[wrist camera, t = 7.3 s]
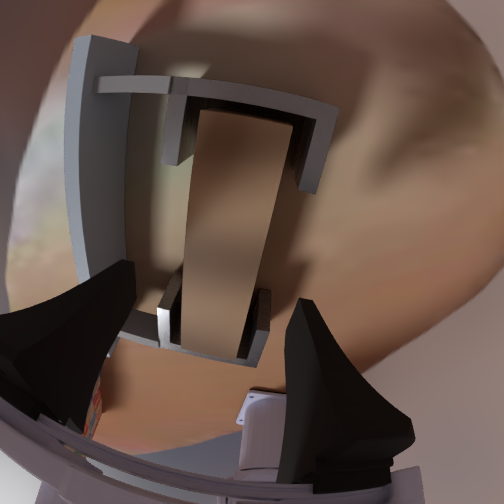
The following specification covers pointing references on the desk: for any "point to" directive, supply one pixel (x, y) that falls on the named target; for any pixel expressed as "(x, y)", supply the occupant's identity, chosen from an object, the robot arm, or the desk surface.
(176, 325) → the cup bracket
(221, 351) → the rail
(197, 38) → the desk surface
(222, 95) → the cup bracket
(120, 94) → the backboard
